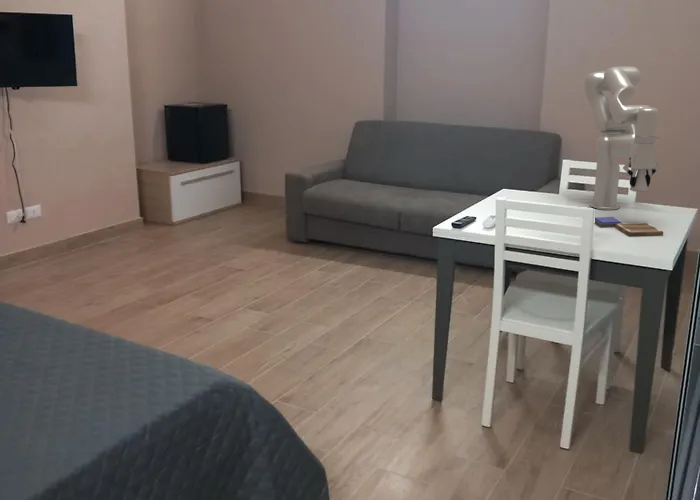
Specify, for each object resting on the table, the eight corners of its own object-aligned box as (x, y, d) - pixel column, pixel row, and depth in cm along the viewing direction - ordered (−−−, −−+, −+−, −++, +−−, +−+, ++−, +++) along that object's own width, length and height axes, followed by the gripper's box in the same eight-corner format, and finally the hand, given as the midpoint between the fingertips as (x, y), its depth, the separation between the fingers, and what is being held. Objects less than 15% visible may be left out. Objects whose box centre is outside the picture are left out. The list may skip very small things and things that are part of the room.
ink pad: (591, 221, 289) (592, 217, 288) (613, 221, 289) (614, 216, 289) (600, 227, 280) (601, 222, 280) (623, 227, 281) (623, 222, 280)
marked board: (614, 227, 280) (615, 223, 280) (647, 226, 281) (647, 222, 280) (629, 236, 268) (629, 232, 267) (662, 235, 268) (663, 231, 268)
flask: (650, 193, 279) (653, 167, 276) (631, 192, 280) (633, 167, 277) (646, 189, 285) (649, 164, 282) (627, 188, 287) (630, 163, 284)
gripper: (661, 138, 281) (655, 183, 286) (619, 139, 280) (614, 184, 285) (670, 141, 274) (664, 187, 279) (627, 141, 273) (622, 188, 278)
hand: (639, 185), depth 282 cm, fingers closed on flask, 4 cm apart
